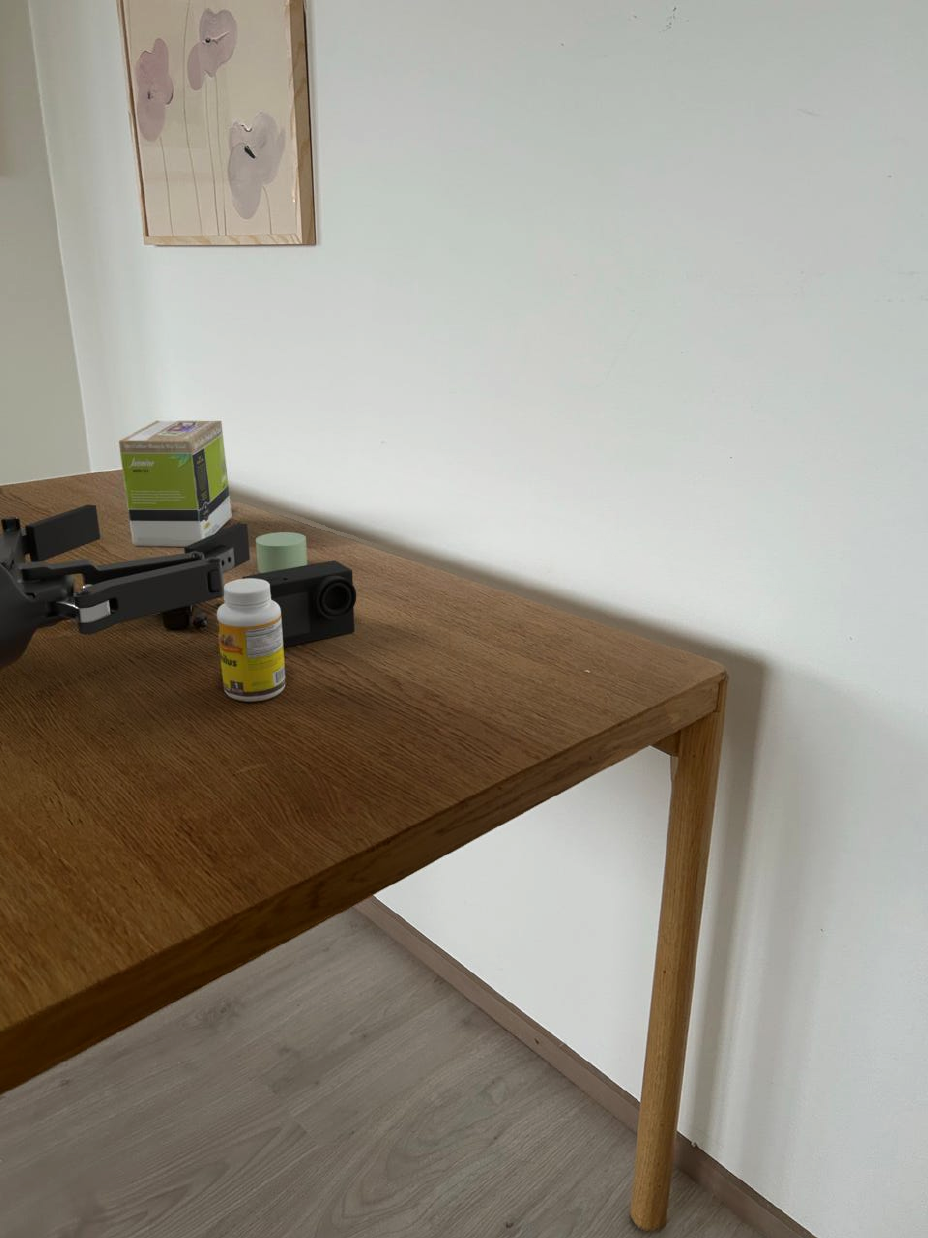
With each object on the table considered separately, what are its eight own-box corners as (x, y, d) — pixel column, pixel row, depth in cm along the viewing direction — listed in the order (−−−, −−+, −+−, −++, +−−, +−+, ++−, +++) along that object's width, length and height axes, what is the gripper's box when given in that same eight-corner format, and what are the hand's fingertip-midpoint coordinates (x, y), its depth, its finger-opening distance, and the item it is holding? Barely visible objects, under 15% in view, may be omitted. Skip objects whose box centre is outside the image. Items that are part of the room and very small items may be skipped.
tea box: (166, 517, 143) (156, 418, 137) (233, 519, 142) (225, 419, 137) (130, 547, 129) (116, 437, 123) (203, 548, 128) (193, 438, 123)
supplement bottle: (217, 685, 88) (207, 580, 84) (276, 674, 90) (269, 571, 87) (232, 709, 83) (222, 599, 80) (293, 697, 86) (286, 590, 82)
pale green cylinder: (254, 573, 118) (251, 534, 117) (302, 568, 121) (300, 530, 119) (263, 588, 113) (260, 548, 111) (313, 582, 115) (311, 543, 114)
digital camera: (267, 657, 94) (262, 590, 92) (246, 639, 98) (241, 575, 96) (360, 636, 99) (358, 572, 97) (337, 620, 104) (334, 558, 101)
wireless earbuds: (162, 634, 100) (158, 605, 98) (169, 610, 106) (165, 582, 105) (207, 631, 100) (205, 602, 99) (211, 608, 107) (209, 580, 106)
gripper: (-209, 656, 59) (44, 558, 78) (120, 727, 51) (315, 599, 69) (-241, 540, 56) (29, 467, 75) (102, 595, 48) (310, 498, 67)
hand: (167, 530), depth 72 cm, fingers open, 13 cm apart
